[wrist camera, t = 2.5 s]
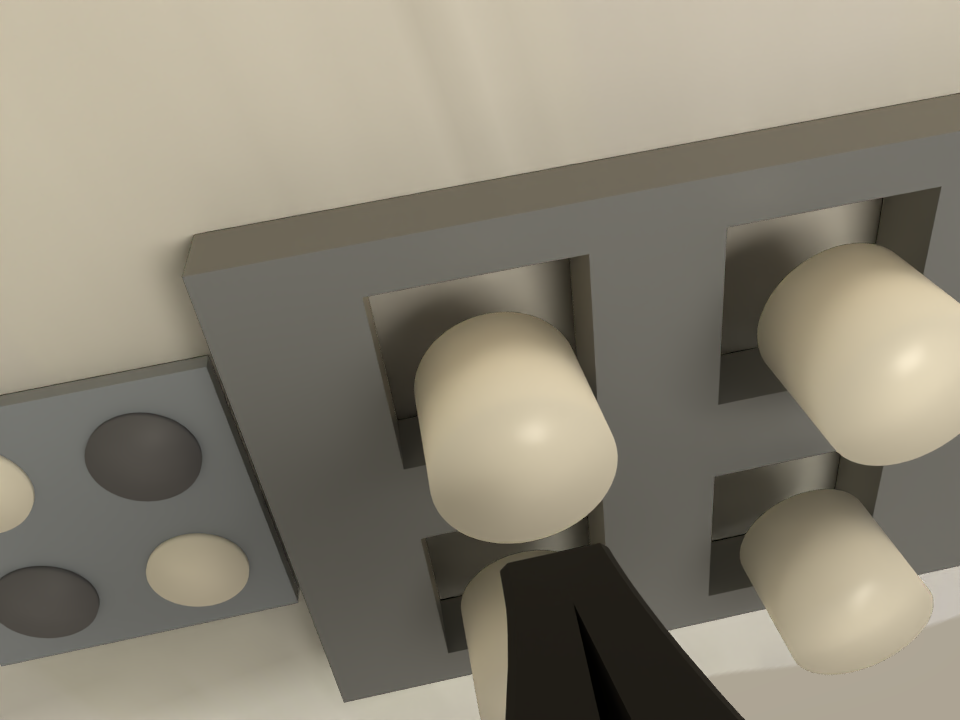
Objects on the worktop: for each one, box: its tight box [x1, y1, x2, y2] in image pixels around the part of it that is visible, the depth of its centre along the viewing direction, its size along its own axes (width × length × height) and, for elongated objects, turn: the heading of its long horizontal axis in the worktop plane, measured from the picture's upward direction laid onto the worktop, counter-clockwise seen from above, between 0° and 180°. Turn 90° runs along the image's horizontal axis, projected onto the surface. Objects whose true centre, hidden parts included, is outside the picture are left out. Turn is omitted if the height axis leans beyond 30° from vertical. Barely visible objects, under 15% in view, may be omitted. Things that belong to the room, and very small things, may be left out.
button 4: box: [757, 243, 960, 466], centre depth 14 cm, size 3×3×2 cm
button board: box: [182, 94, 960, 703], centre depth 18 cm, size 16×12×2 cm
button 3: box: [740, 489, 933, 675], centre depth 18 cm, size 3×3×2 cm
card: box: [0, 355, 298, 666], centre depth 18 cm, size 7×7×1 cm
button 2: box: [414, 312, 618, 544], centre depth 14 cm, size 3×3×2 cm
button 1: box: [461, 550, 556, 720], centre depth 17 cm, size 3×3×2 cm
